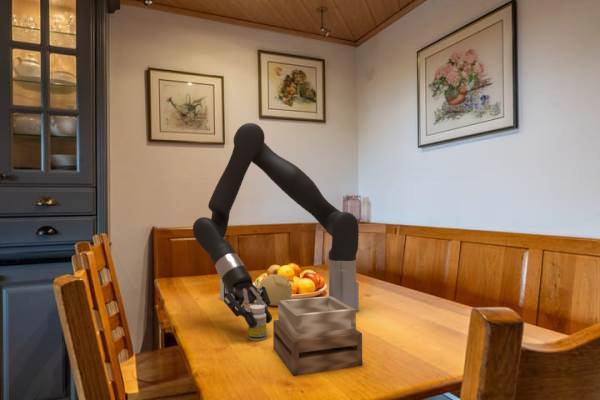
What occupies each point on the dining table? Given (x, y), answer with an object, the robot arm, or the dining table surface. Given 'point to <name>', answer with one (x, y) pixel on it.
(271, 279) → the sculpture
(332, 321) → the crate stack
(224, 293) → the container
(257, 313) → the supplement bottle
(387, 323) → the dining table surface
